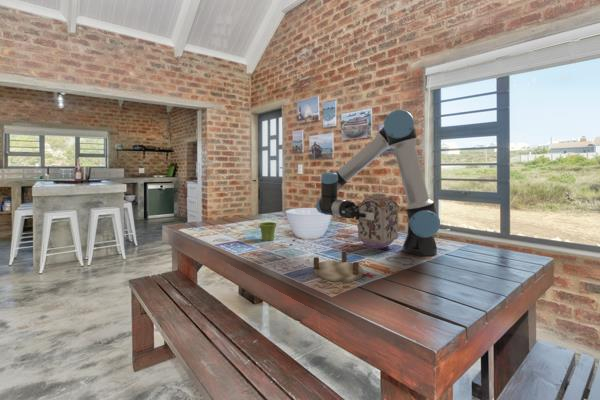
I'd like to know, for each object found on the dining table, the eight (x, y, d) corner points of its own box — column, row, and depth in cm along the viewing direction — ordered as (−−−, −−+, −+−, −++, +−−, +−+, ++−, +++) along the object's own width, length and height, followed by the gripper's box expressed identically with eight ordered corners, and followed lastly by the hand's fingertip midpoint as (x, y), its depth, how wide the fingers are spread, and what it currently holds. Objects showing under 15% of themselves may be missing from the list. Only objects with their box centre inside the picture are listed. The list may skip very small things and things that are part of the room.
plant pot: (268, 242, 165) (268, 226, 164) (255, 240, 170) (255, 223, 169) (280, 239, 172) (280, 223, 171) (267, 236, 178) (267, 221, 177)
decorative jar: (372, 234, 135) (374, 192, 133) (398, 239, 127) (400, 193, 125) (356, 239, 127) (357, 193, 125) (383, 244, 119) (384, 196, 117)
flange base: (354, 264, 130) (354, 250, 130) (369, 280, 113) (370, 264, 112) (309, 266, 128) (309, 251, 127) (318, 282, 110) (318, 265, 109)
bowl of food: (387, 254, 146) (388, 229, 145) (348, 247, 158) (349, 223, 157) (403, 245, 162) (404, 223, 160) (366, 239, 174) (367, 218, 172)
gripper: (362, 214, 148) (403, 221, 132) (323, 220, 133) (363, 228, 116) (363, 198, 147) (403, 202, 131) (323, 202, 132) (363, 208, 116)
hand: (384, 215), depth 124 cm, fingers closed on decorative jar, 12 cm apart
